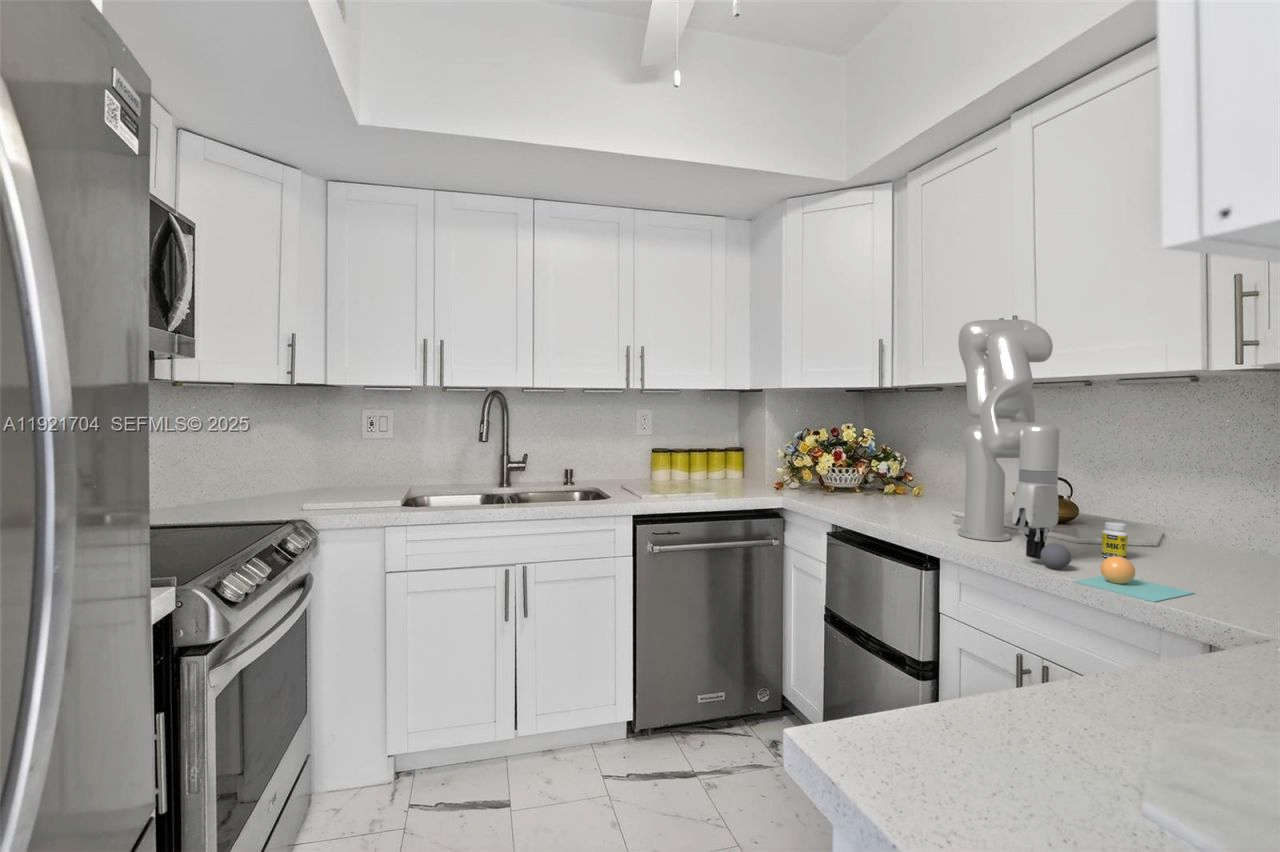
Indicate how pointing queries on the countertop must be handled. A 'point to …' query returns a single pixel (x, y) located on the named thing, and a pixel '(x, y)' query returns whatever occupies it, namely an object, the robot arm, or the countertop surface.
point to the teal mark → (1137, 589)
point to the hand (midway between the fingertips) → (1035, 557)
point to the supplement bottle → (1114, 540)
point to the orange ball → (1117, 570)
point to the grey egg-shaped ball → (1055, 556)
